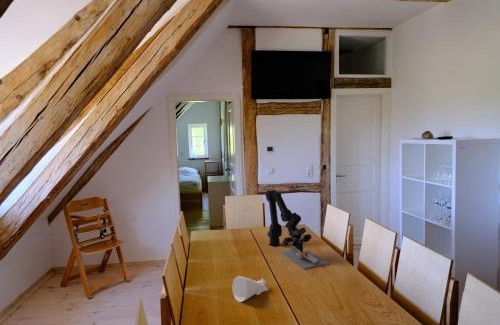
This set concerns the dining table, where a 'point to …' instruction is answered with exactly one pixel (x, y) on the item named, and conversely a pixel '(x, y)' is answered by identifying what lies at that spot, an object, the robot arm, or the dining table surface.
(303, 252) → the lever
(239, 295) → the rocket engine
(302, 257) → the valve
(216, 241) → the dining table surface
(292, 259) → the mounting board
